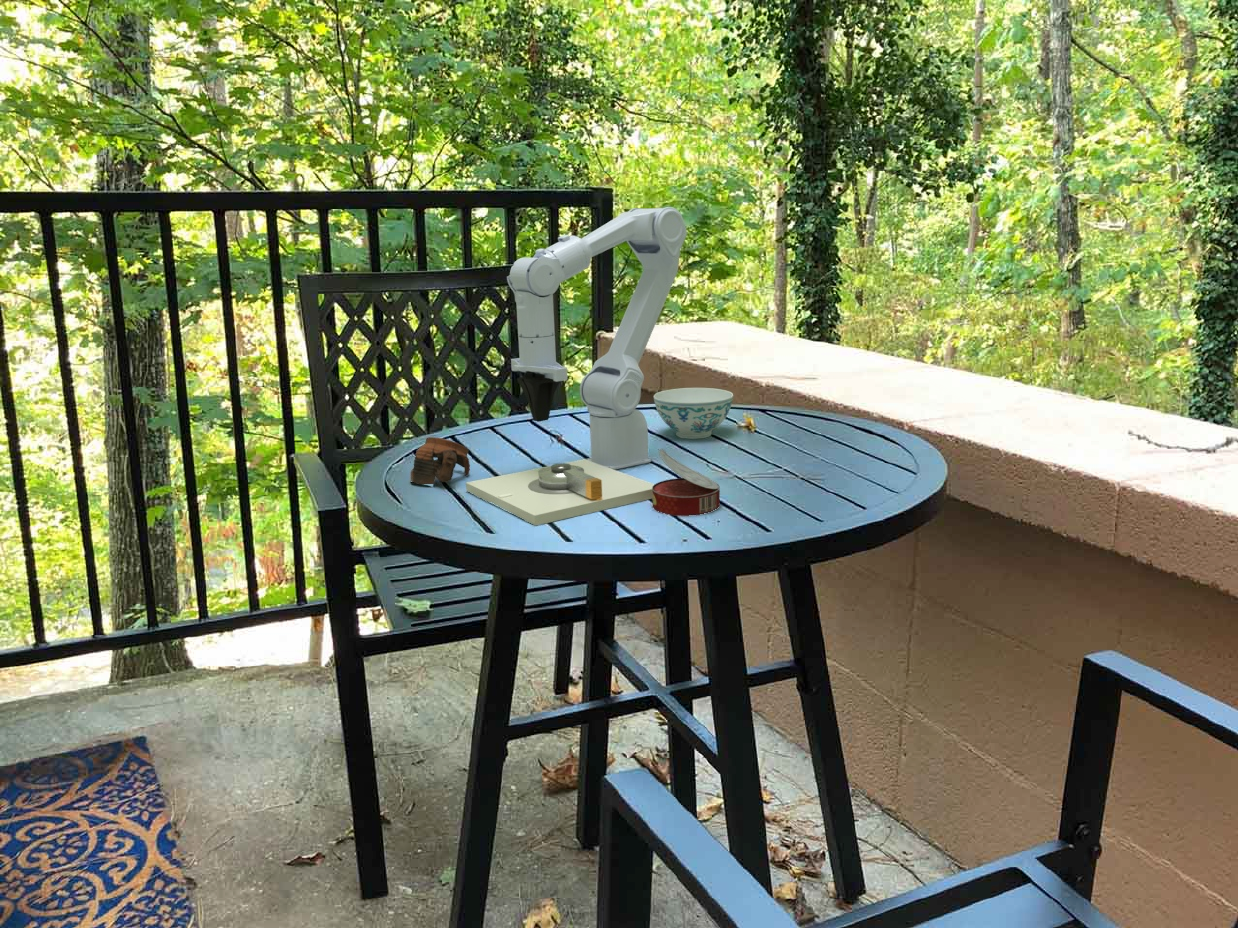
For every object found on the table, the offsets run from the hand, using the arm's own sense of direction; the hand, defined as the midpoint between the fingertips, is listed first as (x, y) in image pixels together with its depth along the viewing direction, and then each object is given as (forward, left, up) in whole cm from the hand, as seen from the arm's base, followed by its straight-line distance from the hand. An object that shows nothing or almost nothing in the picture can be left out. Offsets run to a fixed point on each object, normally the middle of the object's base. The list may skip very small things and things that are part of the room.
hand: (540, 420), depth 158 cm
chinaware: (-38, -9, -10) cm, 40 cm away
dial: (+2, +12, -8) cm, 15 cm away
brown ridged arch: (+13, -11, -10) cm, 20 cm away
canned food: (-9, +26, -10) cm, 29 cm away
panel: (+2, +9, -10) cm, 14 cm away
